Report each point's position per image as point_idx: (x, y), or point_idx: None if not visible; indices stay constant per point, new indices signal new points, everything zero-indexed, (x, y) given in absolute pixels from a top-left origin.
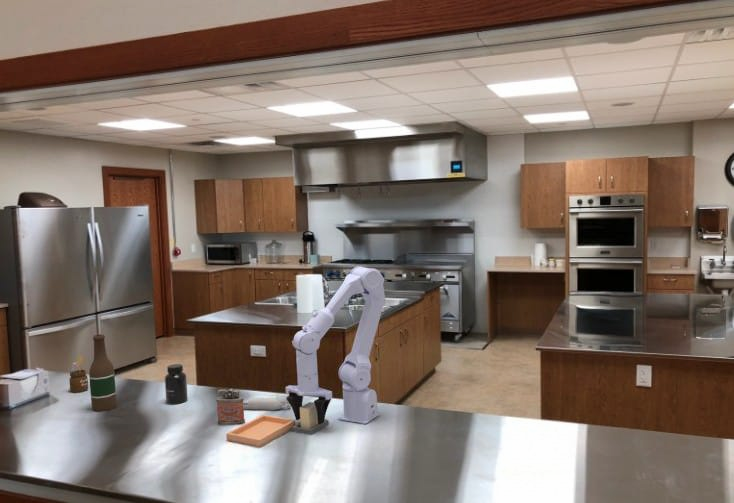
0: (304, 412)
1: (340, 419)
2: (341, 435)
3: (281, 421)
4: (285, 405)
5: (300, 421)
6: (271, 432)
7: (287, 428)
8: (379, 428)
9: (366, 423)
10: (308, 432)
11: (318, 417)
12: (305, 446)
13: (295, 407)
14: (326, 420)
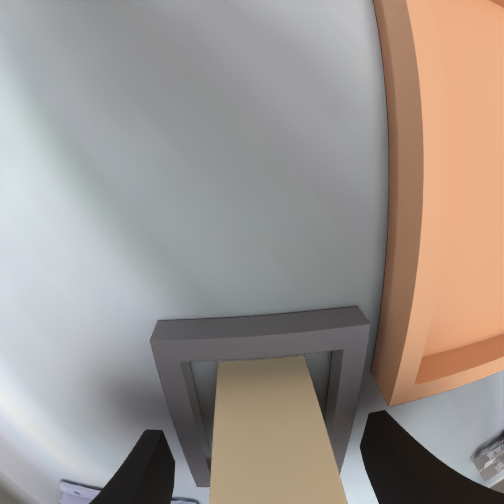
0: (272, 489)
1: (180, 502)
2: (18, 374)
3: (477, 352)
4: (493, 457)
5: (317, 403)
6: (434, 79)
7: (395, 295)
8: (3, 453)
9: (60, 483)
10: (182, 328)
11: (133, 468)
12: (47, 118)
13: (419, 492)
14: (201, 481)
